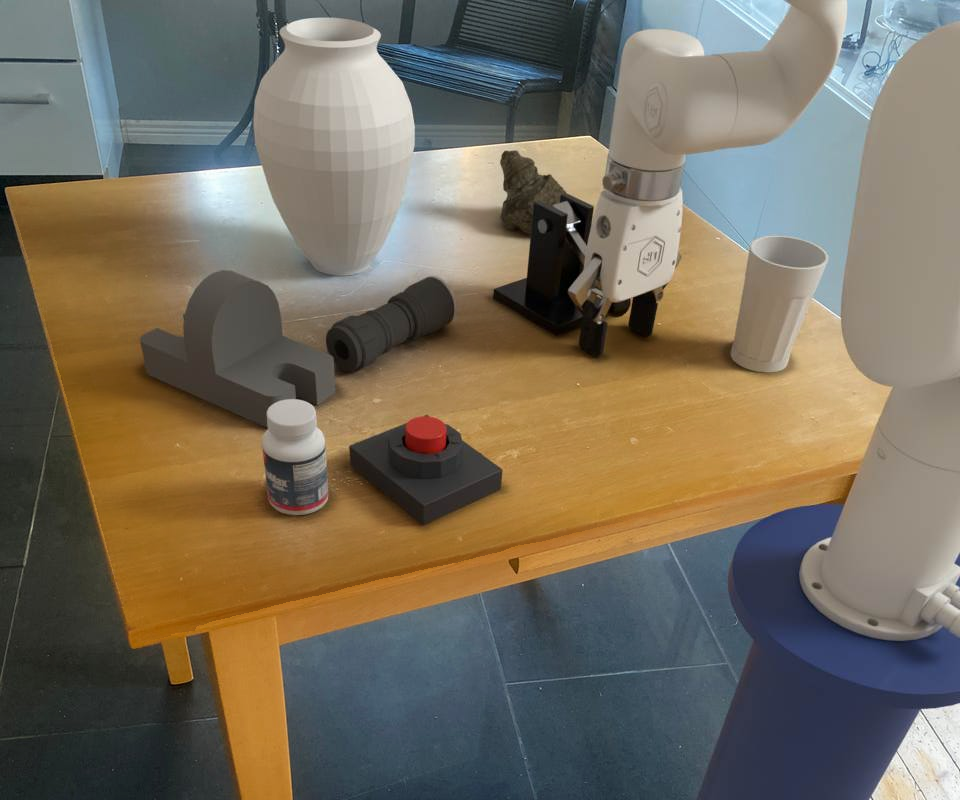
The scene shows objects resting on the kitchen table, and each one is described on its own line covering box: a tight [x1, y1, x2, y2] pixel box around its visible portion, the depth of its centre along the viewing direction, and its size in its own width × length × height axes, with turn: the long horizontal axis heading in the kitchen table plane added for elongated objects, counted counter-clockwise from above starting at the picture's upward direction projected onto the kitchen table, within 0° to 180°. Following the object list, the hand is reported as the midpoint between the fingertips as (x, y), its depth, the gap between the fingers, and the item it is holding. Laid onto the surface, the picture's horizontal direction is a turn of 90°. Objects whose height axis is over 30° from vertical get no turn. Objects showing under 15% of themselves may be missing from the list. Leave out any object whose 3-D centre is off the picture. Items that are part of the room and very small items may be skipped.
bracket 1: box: [139, 269, 336, 429], centre depth 96 cm, size 10×18×11 cm, turn 57°
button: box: [405, 415, 446, 454], centre depth 87 cm, size 4×4×2 cm
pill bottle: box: [261, 398, 329, 516], centre depth 83 cm, size 5×5×9 cm
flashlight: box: [325, 275, 458, 372], centre depth 104 cm, size 15×5×5 cm, turn 141°
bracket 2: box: [492, 192, 609, 337], centre depth 111 cm, size 11×9×12 cm
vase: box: [253, 17, 416, 277], centre depth 111 cm, size 18×18×25 cm
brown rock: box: [499, 149, 567, 235], centre depth 128 cm, size 11×12×10 cm
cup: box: [730, 235, 829, 373], centre depth 105 cm, size 8×8×12 cm
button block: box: [348, 414, 504, 526], centre depth 88 cm, size 11×9×4 cm
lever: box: [552, 201, 632, 318], centre depth 108 cm, size 14×3×3 cm, turn 40°
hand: (615, 340), depth 110 cm, fingers open, 7 cm apart
